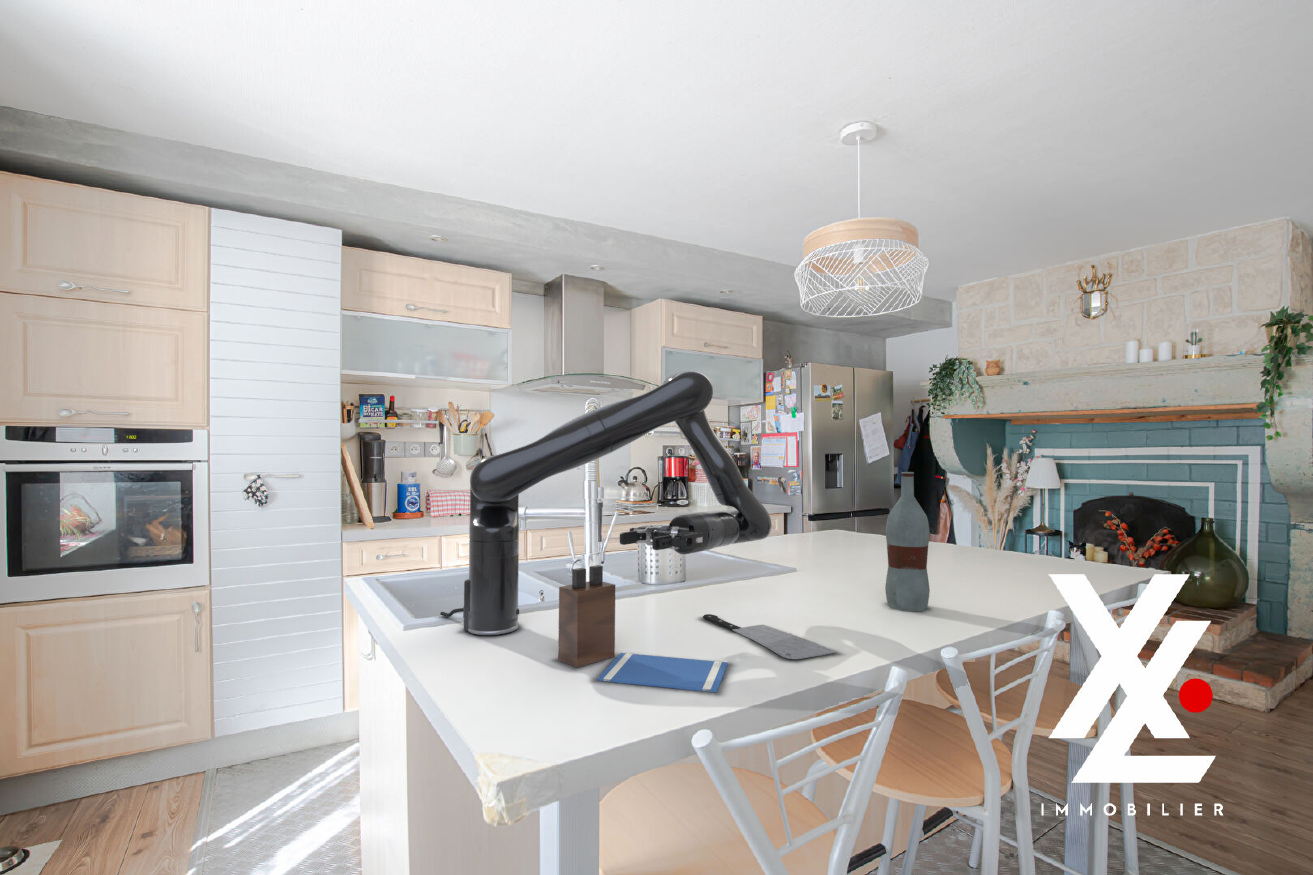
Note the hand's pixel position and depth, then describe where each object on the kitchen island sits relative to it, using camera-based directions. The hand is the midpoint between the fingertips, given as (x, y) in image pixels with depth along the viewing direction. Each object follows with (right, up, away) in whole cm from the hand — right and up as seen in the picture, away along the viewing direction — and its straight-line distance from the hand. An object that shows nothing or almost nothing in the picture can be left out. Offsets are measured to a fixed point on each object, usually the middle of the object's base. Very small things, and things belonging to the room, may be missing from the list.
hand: (636, 541), depth 112 cm
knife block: (-8, -18, -8) cm, 21 cm away
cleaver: (+23, -19, +6) cm, 30 cm away
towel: (+5, -18, -14) cm, 24 cm away
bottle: (+59, -19, +28) cm, 68 cm away
